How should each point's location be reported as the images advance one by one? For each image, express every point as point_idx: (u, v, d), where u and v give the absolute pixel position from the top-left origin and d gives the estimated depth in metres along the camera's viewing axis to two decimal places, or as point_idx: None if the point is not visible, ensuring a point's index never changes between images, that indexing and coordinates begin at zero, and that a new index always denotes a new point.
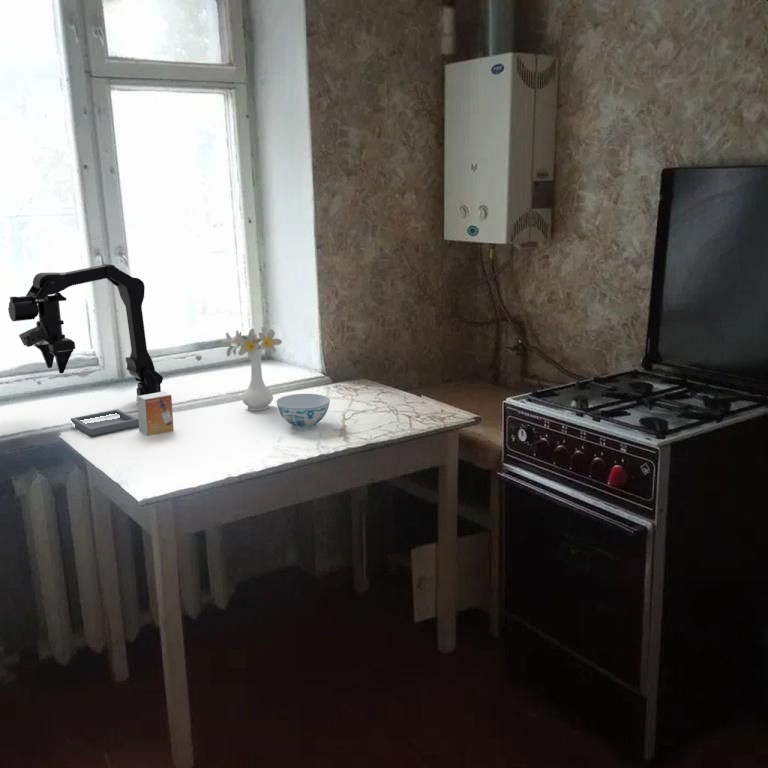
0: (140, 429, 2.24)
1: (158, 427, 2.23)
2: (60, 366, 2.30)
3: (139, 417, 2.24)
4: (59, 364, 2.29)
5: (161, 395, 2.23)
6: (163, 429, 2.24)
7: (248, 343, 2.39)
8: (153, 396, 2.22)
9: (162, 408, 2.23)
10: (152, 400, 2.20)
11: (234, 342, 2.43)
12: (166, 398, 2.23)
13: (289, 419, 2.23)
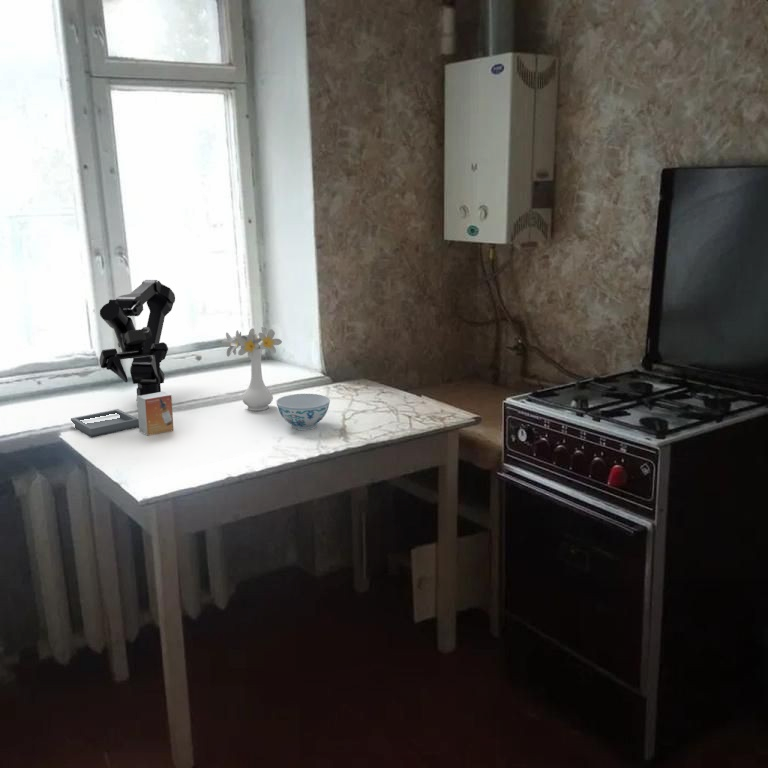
0: (140, 429, 2.24)
1: (158, 427, 2.23)
2: None
3: (139, 417, 2.24)
4: None
5: (161, 395, 2.23)
6: (163, 429, 2.24)
7: (248, 343, 2.39)
8: (153, 396, 2.22)
9: (162, 408, 2.23)
10: (152, 400, 2.20)
11: (234, 342, 2.43)
12: (166, 398, 2.23)
13: (289, 419, 2.23)
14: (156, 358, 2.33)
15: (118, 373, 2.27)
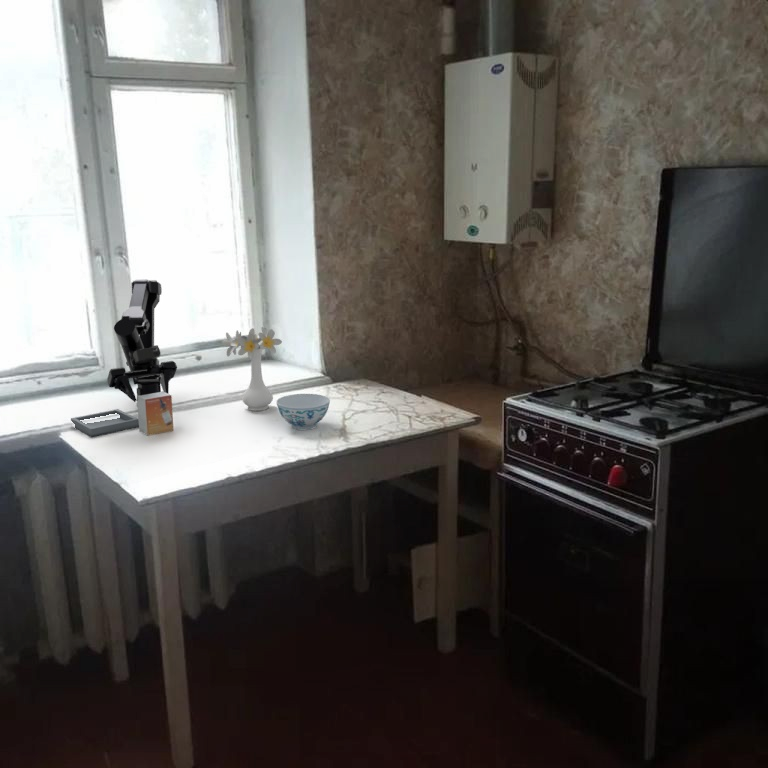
0: (140, 429, 2.24)
1: (158, 427, 2.23)
2: None
3: (139, 417, 2.24)
4: None
5: (161, 395, 2.23)
6: (163, 429, 2.24)
7: (248, 343, 2.39)
8: (153, 396, 2.22)
9: (162, 408, 2.23)
10: (152, 400, 2.20)
11: (234, 342, 2.43)
12: (166, 398, 2.23)
13: (289, 419, 2.23)
14: (165, 377, 2.29)
15: (126, 392, 2.24)
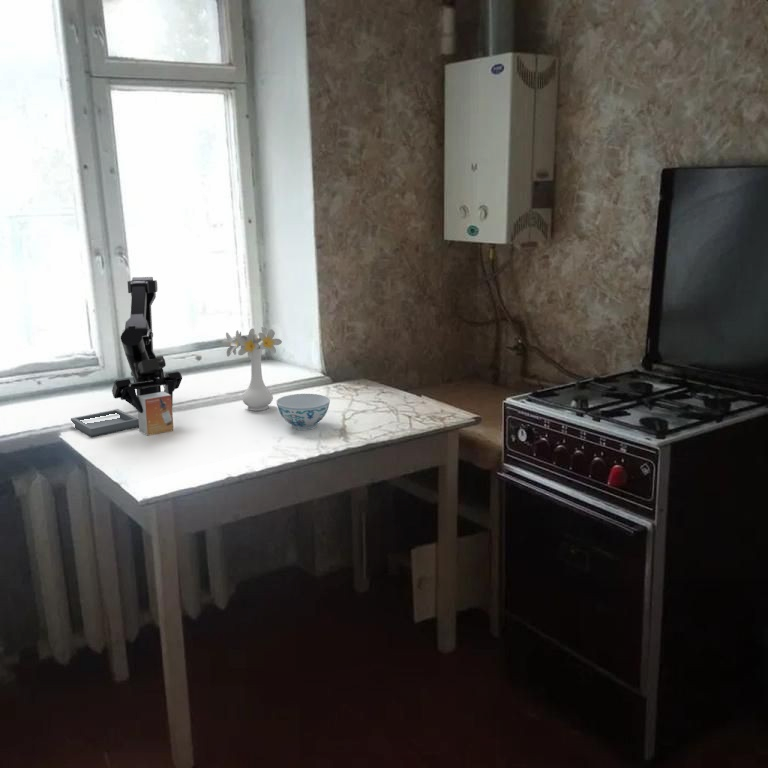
0: (140, 429, 2.24)
1: (158, 427, 2.23)
2: (172, 399, 2.26)
3: (139, 417, 2.24)
4: None
5: (161, 395, 2.23)
6: (163, 429, 2.24)
7: (248, 343, 2.39)
8: (153, 396, 2.22)
9: (162, 408, 2.23)
10: (152, 400, 2.20)
11: (234, 342, 2.43)
12: (166, 398, 2.23)
13: (289, 419, 2.23)
14: (169, 388, 2.27)
15: (133, 403, 2.22)
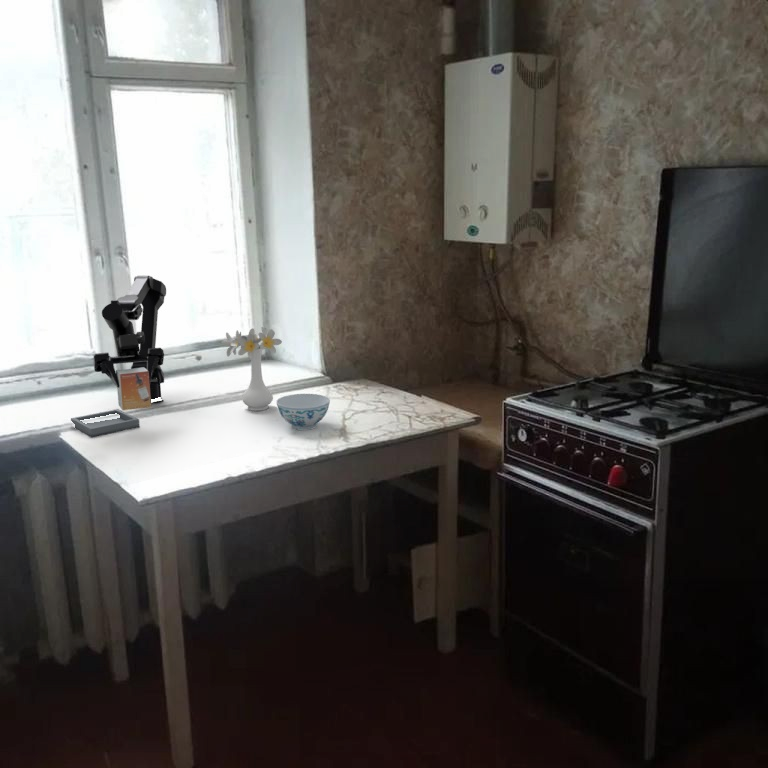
0: (119, 403, 2.25)
1: (134, 402, 2.23)
2: (151, 375, 2.26)
3: (118, 391, 2.24)
4: (150, 374, 2.26)
5: (138, 371, 2.23)
6: (140, 404, 2.24)
7: (248, 343, 2.39)
8: (130, 371, 2.22)
9: (139, 383, 2.22)
10: (128, 375, 2.20)
11: (234, 342, 2.43)
12: (142, 374, 2.22)
13: (289, 419, 2.23)
14: (149, 364, 2.26)
15: (111, 378, 2.23)
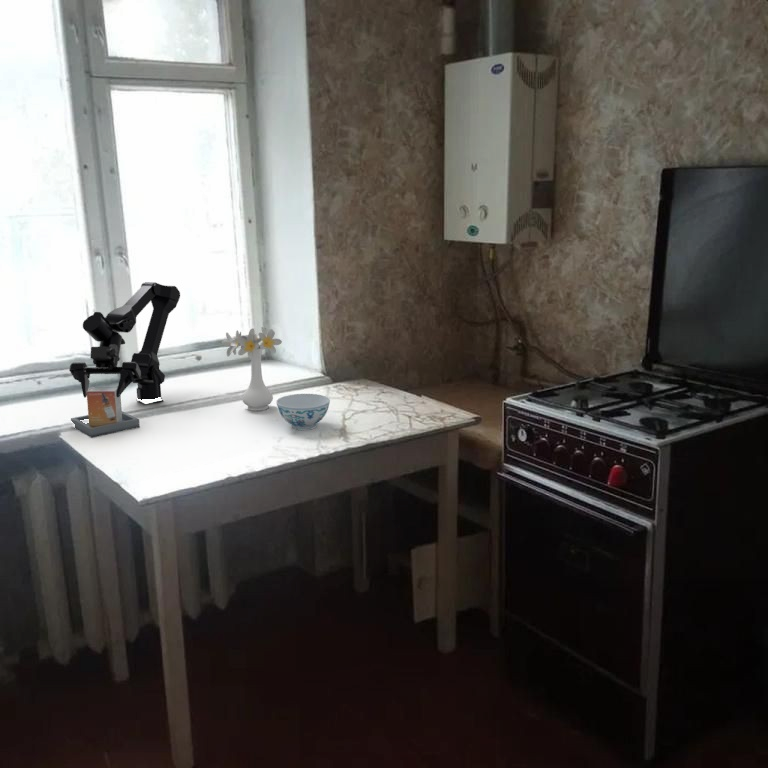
0: None
1: (101, 420, 2.26)
2: (121, 389, 2.27)
3: None
4: (121, 387, 2.27)
5: (106, 390, 2.25)
6: (106, 423, 2.27)
7: (248, 343, 2.39)
8: (99, 389, 2.26)
9: (105, 402, 2.25)
10: (94, 393, 2.24)
11: (234, 342, 2.43)
12: (108, 394, 2.25)
13: (289, 419, 2.23)
14: (121, 377, 2.28)
15: None
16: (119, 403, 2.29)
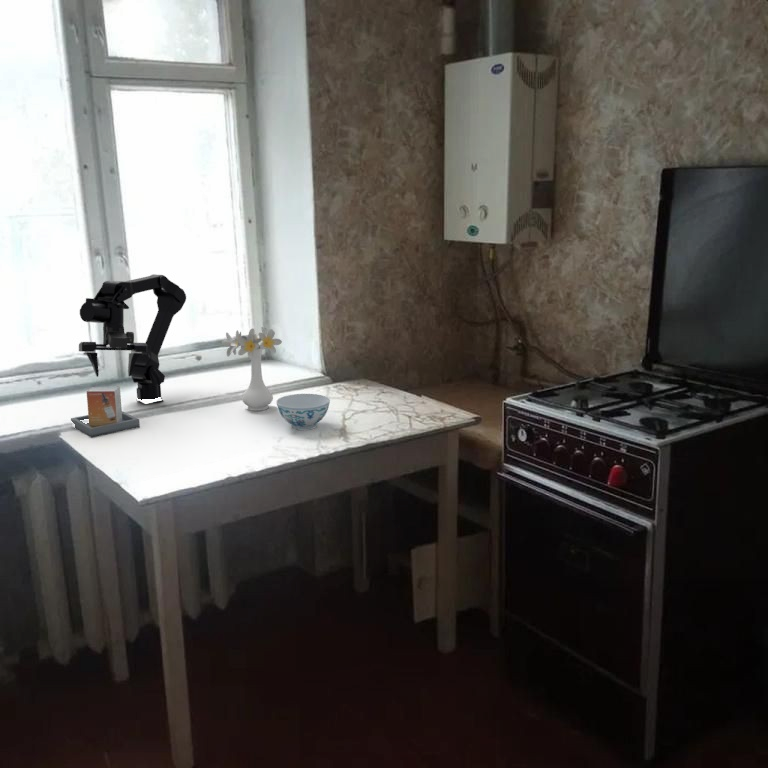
0: None
1: (101, 420, 2.26)
2: None
3: None
4: None
5: (106, 390, 2.25)
6: (106, 423, 2.27)
7: (248, 343, 2.39)
8: (99, 389, 2.26)
9: (105, 402, 2.25)
10: (94, 393, 2.24)
11: (234, 342, 2.43)
12: (108, 394, 2.25)
13: (289, 419, 2.23)
14: (133, 358, 2.40)
15: (92, 364, 2.36)
16: (119, 403, 2.29)
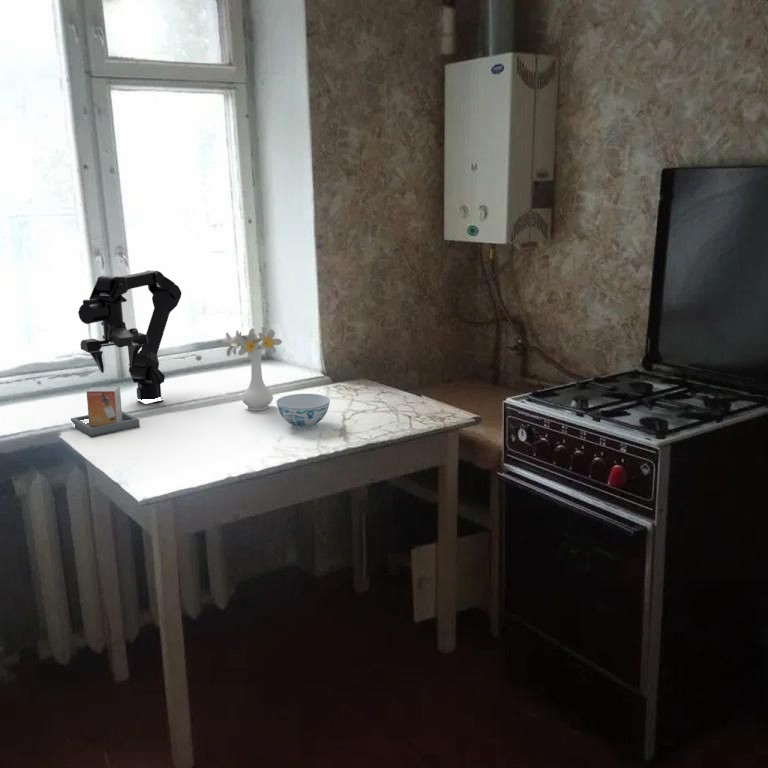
0: None
1: (101, 420, 2.26)
2: None
3: None
4: None
5: (106, 390, 2.25)
6: (106, 423, 2.27)
7: (248, 343, 2.39)
8: (99, 389, 2.26)
9: (105, 402, 2.25)
10: (94, 393, 2.24)
11: (234, 342, 2.43)
12: (108, 394, 2.25)
13: (289, 419, 2.23)
14: (134, 351, 2.43)
15: (96, 361, 2.38)
16: (119, 403, 2.29)
